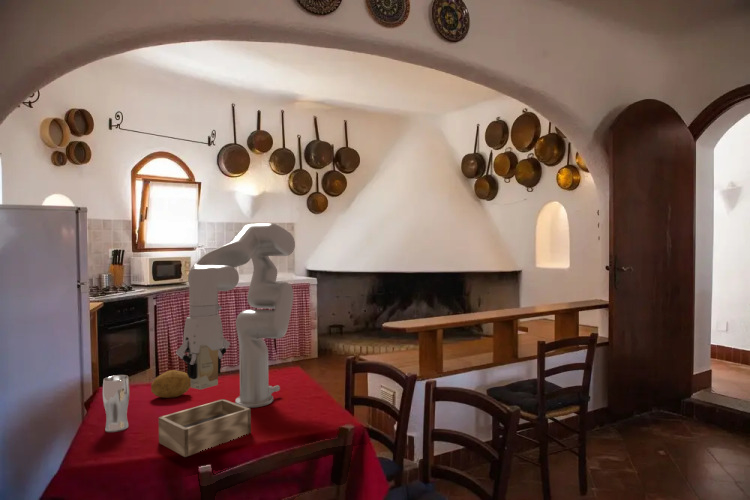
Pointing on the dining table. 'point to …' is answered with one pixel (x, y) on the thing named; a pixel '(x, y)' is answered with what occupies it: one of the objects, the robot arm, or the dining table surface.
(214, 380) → the skincare box
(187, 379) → the potato
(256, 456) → the dining table surface
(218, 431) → the insert box
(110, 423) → the beer glass
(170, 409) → the dining table surface
